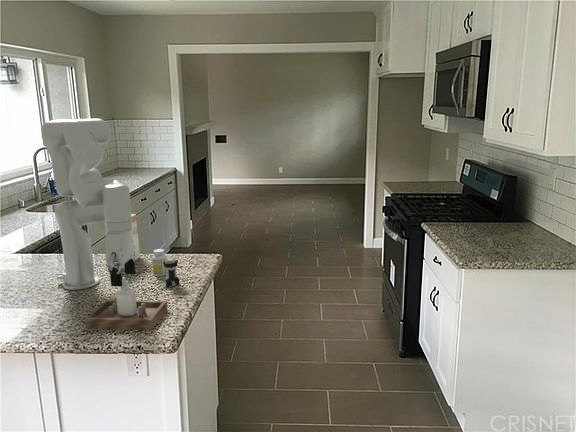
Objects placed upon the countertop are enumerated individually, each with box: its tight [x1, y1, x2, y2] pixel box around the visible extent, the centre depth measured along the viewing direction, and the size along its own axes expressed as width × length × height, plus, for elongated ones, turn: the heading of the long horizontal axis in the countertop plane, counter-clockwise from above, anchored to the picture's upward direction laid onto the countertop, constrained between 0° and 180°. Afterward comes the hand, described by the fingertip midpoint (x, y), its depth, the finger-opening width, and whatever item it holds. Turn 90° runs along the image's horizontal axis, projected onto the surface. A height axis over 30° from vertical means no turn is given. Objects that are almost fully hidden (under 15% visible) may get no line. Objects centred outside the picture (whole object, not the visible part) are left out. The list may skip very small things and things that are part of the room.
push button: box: [160, 257, 180, 288], centre depth 174 cm, size 7×5×10 cm
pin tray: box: [84, 299, 168, 331], centre depth 148 cm, size 20×14×4 cm
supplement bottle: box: [151, 248, 167, 277], centre depth 186 cm, size 5×5×10 cm
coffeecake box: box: [103, 213, 141, 270], centre depth 200 cm, size 15×7×20 cm, turn 172°
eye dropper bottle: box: [115, 276, 137, 316], centre depth 147 cm, size 4×6×12 cm
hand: (123, 279), depth 146 cm, fingers open, 9 cm apart
